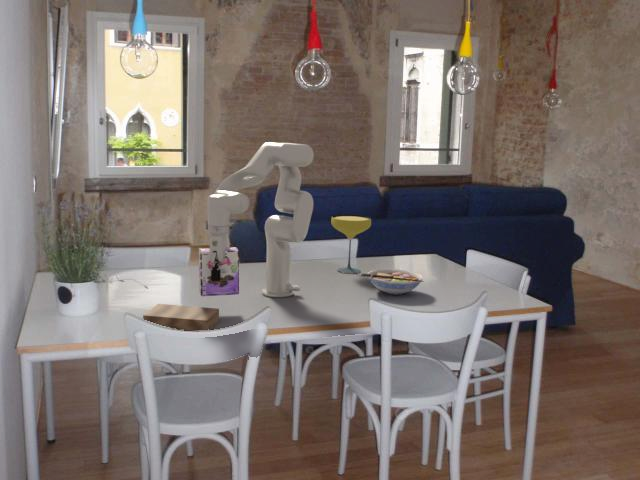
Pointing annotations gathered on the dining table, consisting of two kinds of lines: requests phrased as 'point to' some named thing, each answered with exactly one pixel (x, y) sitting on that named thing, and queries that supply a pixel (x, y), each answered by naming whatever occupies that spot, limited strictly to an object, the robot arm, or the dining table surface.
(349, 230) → the cocktail glass
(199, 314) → the walnut base
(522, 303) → the dining table surface
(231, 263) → the candy box
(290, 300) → the dining table surface
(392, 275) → the ramen bowl
